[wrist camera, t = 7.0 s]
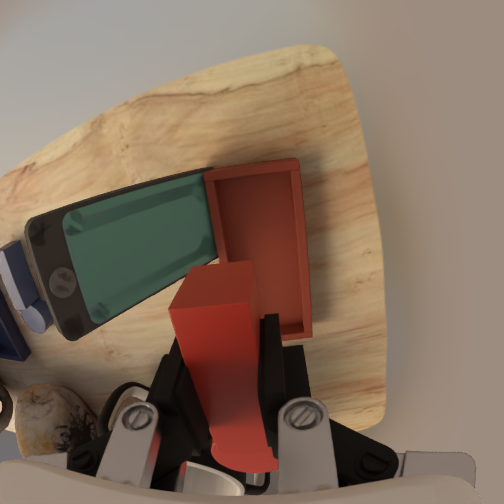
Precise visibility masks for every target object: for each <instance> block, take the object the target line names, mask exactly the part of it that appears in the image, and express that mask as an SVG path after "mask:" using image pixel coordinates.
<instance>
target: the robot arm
mask: <svg viewBox="0 0 504 504" xmlns="http://www.w3.org/2000/svg"><path fill="white" fill-rule="evenodd" d="M257 391H258V401H259V406H260V411H261V416H262V421H263V426H264V431H265V435H266V440H267V445H268V447H272V453H273V457H274V458H275V459H277V460H278V495H263V496H261V495H260V496H223V495H202V494H189V493H183V487H184V480H185V474H186V468H187V460H188V459H190V458H191V456H200V454H201V448H206V445H207V439H208V433H209V424H208V421H207V419H206V416H205V414H204V411H203V408H202V406H201V403H200V400H199V397H198V395H197V392H196V389H195V386H194V383H193V380H192V378H191V375H190V372H189V369H188V367H186V365H185V362H184V359H183V356H182V353H181V350H180V347H179V343H178V340H177V337H175V339H174V342H173V345H172V347H171V350H170V352H169V354H165V355H164V356H163V357H162V360H161V362H160V365H159V367H158V370H157V372H156V375H155V377H154V380H153V383H152V385H151V388H150V390H149V393H148V396H147V398H146V401H145V402H143V401H142V402H135V403H132V404H130V405H128V406H126V407H125V408H124V409H123V410H122V411H121V412H120V414H119V416H118V418H117V421H116V423H115V426H114V428H113V430H111V431H109V432H107V433H105V434H103V435H101V436H99V437H97V438H95V439H93V440H91V441H89V442H88V443H86V444H84V445H82V446H79V447H78V448H76V449H75V450H73V451H72V453H71V454H70V455H69V454H68V453H67V452H64V453H55V454H45V455H33V456H28V457H26V458H24V459H23V460H21V459H20V460H8V461H3V462H1V463H0V504H484V503H483V501H482V499H481V497H480V496H479V494H478V493H477V491H476V490H475V477H476V465H475V461H474V459H473V458H472V457H471V456H470V455H468V454H467V453H463V452H421V451H406V453H395V452H394V451H393V450H392V449H391V448H389V447H388V446H386V445H383V444H381V443H379V442H377V441H374V440H372V439H370V438H368V437H366V436H364V435H362V434H360V433H358V432H356V431H354V430H352V429H350V428H348V427H346V426H344V425H342V424H340V423H338V422H336V421H334V420H332V419H330V418H329V416H328V411H327V408H326V406H325V405H324V404H323V403H322V402H321V401H319V400H317V399H315V398H311V392H310V386H309V380H308V373H307V367H306V361H305V355H304V349H303V345H295V346H287V347H282V339H281V329H280V320H279V313H273V314H264V318H262V319H260V355H259V363H258V382H257Z"/></svg>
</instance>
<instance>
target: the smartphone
mask: <svg viewBox="0 0 504 504" xmlns="http://www.w3.org/2000/svg"><path fill="white" fill-rule="evenodd" d="M212 169H215V168H213V167H207V168H200V169H195V170H191V171H187V172H182V173H178V174H174V175H170V176H166V177H162V178H158V179H154V180H150V181H146V182H143V183H139V184H135V185H132V186H128V187H124V188H121V189H117V190H114V191H111V192H107V193H104V194H101V195H97V196H94V197H91V198H88V199H85V200H81V201H78V202H75V203H72V204H69V205H66V206H63V207H60V208H58V209H55V210H52V211H49V212H46V213H43V214H41V215H38V216H35V217H33V218H30V219H29V220H28V221H27V223H26V225H25V230H24V233H25V237H26V241H27V244H28V248H29V251H30V255H31V258H32V261H33V265H34V268H35V271H36V274H37V277H38V280H39V283H40V286H41V289H42V291H43V294H44V297H45V300H46V302H47V305H48V307H49V310H50V312H51V315H52V317H53V320H54V322H55V325H56V327H57V329H58V331H59V332H60V333H61V334H62V335H63V336H64V337H65V338H66V339H67V340H69V341H76V340H78V339H79V338H81V337H83V336H84V335H86V334H88V333H90V332H91V331H93V330H95V329H96V328H98V327H100V326H101V325H103V324H105V323H106V322H108V321H110V320H112V319H113V318H115V317H117V316H118V315H120V314H122V313H123V312H125V311H127V310H129V309H130V308H132V307H134V306H135V305H137V304H139V303H141V302H142V301H144V300H146V299H147V298H149V297H151V296H153V295H155V294H157V293H158V292H160V291H162V290H163V289H165V288H167V287H169V286H170V285H172V284H174V283H176V282H177V281H178V280H180V279H182V278H184V277H186V276H187V274H188V272H189V270H190V268H191V267H193V266H202V265H207V264H208V263H210V262H211V261H213V260H215V259H217V258H218V253H217V247H216V242H215V237H214V232H213V226H212V221H211V215H210V210H209V204H208V199H207V193H206V187H205V182H204V176H203V173H204V172H205V171H209V170H212Z"/></svg>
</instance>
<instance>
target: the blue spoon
mask: <svg viewBox="0 0 504 504" xmlns="http://www.w3.org/2000/svg"><path fill="white" fill-rule="evenodd" d="M0 274H1V277H2V279H3V282H4V285H5V287H6V290H7V292H8V294H9V297H10V299H11V301H12V304H13V306H14V308H15V310H21V314H22V318H23V320H24V322H25V323H26V325H27V326H28V327H29V328H30V329H31V330H32V331H34V332H36V333H39V334H42V333H44V332H45V331H46V330H47V329H48V327H49V326H50V325H51V324H52V322H53V317H52V315H51V312H50V310H49V307H48V305H47V304H46V303H45V302H44V301H43V300H41V299H39V297H40V296H39V293H38V291H37V288H36V286H35V283H34V281H33V278H32V275H31V273H30V270H29V267H28V264H27V261H26V259H25V256H24V253H23V250H22V246H21V243H20V240H19V241H15V242H11V243H8V244H6V245H5V246H3V247H1V248H0Z"/></svg>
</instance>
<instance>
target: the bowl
mask: <svg viewBox="0 0 504 504" xmlns="http://www.w3.org/2000/svg"><path fill="white" fill-rule="evenodd" d="M0 401H1V402H2V411H1V413H0V433H1V432H2V431H3V430H4V429H5V428H6V427H7V426H8V425H9V422H10V420H11V418H12V413H13V401H12V399H11V397H10V394H9V392H8V391H7V389H6V388H5V387H4V385H3V384H2V383H1V382H0Z"/></svg>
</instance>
